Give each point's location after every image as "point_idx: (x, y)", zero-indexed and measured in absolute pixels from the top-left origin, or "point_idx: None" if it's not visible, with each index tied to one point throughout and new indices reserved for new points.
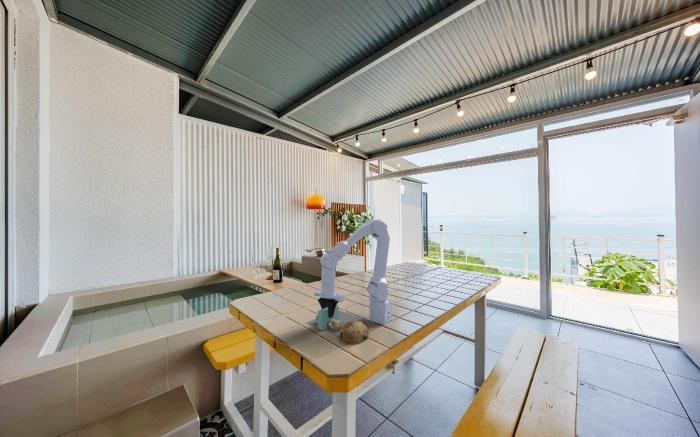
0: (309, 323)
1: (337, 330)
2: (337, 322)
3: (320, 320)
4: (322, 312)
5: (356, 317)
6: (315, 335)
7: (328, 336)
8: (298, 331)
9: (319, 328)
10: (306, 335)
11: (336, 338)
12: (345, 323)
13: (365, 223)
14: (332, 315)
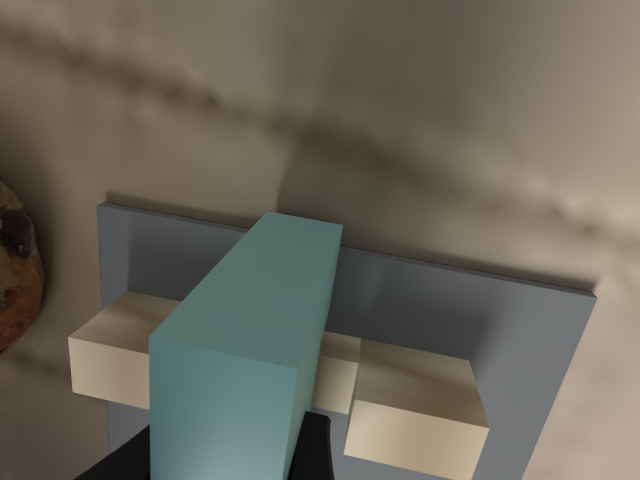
0: (541, 311)
1: (129, 290)
2: (79, 345)
3: (261, 260)
4: (153, 340)
5: None
6: (276, 82)
7: (136, 142)
8: (567, 55)
9: (309, 223)
10: (380, 14)
11: (41, 146)
12: None
13: None
14: None
